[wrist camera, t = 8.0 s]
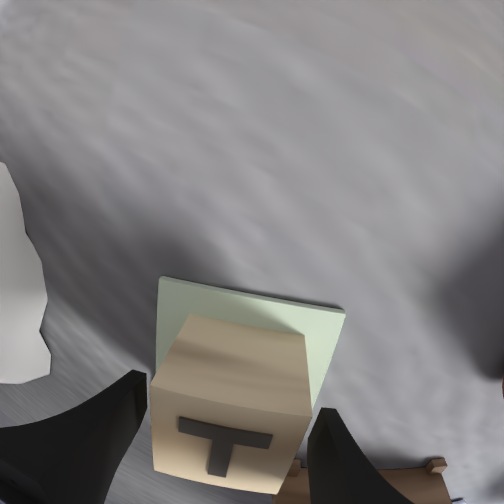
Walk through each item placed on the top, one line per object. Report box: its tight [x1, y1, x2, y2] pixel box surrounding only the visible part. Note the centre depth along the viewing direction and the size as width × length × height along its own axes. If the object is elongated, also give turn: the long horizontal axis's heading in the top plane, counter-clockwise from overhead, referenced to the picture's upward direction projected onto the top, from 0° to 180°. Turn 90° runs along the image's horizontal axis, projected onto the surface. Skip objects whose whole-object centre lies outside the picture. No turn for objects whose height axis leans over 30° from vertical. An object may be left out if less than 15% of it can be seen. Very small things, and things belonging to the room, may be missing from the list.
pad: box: [156, 276, 346, 409], centre depth 15 cm, size 8×8×1 cm
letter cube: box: [150, 314, 312, 494], centre depth 12 cm, size 5×5×5 cm
